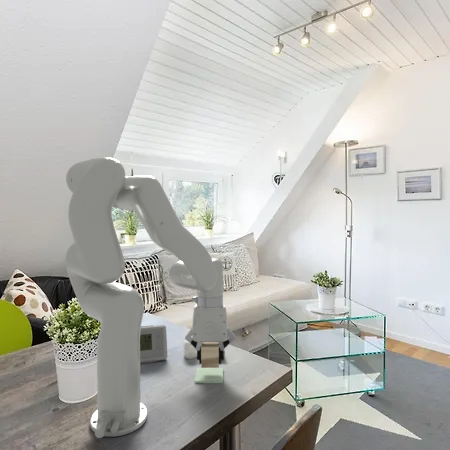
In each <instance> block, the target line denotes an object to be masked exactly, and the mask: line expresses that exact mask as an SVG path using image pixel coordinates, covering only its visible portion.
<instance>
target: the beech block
mask: <svg viewBox="0 0 450 450" xmlns="http://www.w3.org/2000/svg"><path fill="white" fill-rule="evenodd" d="M200 366H201V367H200V368H220V364H219V343H218V342H202V344H201V364H200Z"/></svg>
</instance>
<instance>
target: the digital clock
mask: <svg viewBox="0 0 450 450" xmlns="http://www.w3.org/2000/svg"><path fill="white" fill-rule="evenodd" d="M167 336H168V335H167V326H166V325H164V324H158V325H152V324H151V325H143V326H142V325H141V331H140V365H142V364H148V363H156V362H160V361H165V360H167V359H168V340H167V339H168V338H167Z"/></svg>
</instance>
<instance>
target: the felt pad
mask: <svg viewBox="0 0 450 450" xmlns="http://www.w3.org/2000/svg"><path fill="white" fill-rule="evenodd" d="M194 384H224V368H223V367H219V368H201V367H197V368H196V371H195V378H194Z"/></svg>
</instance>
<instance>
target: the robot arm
mask: <svg viewBox="0 0 450 450" xmlns="http://www.w3.org/2000/svg"><path fill="white" fill-rule="evenodd" d="M65 180H66V185H67V187H68V189H69V191H71V193H72V195H71V198H70V200H69V205H68V210H67V211H68V223H69V227H70V231H71V233H72V238H73V240H74V242H73V243H71V245H70V246H69V248H67V251H66V254H65V259H64V263H65V264H64V265H65V269H66V272H67V276H68V278H69V281H70V284H71V286H72V289H73V292H74V294H75V297H76V299H77V302H78V304H79V306H80V308H81V310H82V312H83V313H85V315H87V316H89V317H90V318H92V319H93V320H96V321H98V322H99V323H100V330H99V332H98V336H97V342H96V375H97V376H96V377H97V378H96V380H97V381H96V382H97V383H96V387H97V389H96V390H97V392H96V393H97V395H96V396H97V400H96V401H97V409H96V410H95V411H94V412H93V413H92V415H91V416H90V421H89V423H90V425H89V427H90V429H91V430H92V431H93V432H94V435H95V437H96V438H97V439H101V438H103V437H111V438H112V437H114V438H115V437H120V436H125V435H128V434H130V433H133V432H134V431H137V430H138V429H139V428H141V427H142V426H143V425H144V424H145V423H146V421H147V420H148V419H147V418H148V409H147V407H146V406H145V405H144V404H143V403H142V402H141V364H140V331H141V326H142V322H143V317H144V313H145V312H144V311H145V305H144V300H143V298H142V295H141V294H140V293H139V291H137V290H136V289H135V288H134V287H132V286H129V285H126V284H124V283H120V282H116V281H119V279H121V277H122V276H123V274H124V273H125V270H126V269H125V268H126V261H125V257H124V254H123V250H122V248H121V247H122V246H121V245H120V242H119V239H118V238H119V237H118V234H117V232H116V229H115V225H114V220H113V213H112V211H113V208H115V209H119V210H125V211H134V212H135V214H136V215H137V217H138V219H139V221H140V223H141V224H142V226H143V228H144V229H145V231H146V233H147V234H148V236H149V239H150V240H151V241H152V242H153V243H154V244H156V246H158V247H159V248H161V249H163V250H164V251H166V252H168V253H170V254H171V255H173V256H174V257H176V258H177V259H178V260H179V261H176V262H174V263H173V264H172V265H171V266H170V267H169V271H168V278H169V280H170V282H171V283H173V284H174V285H175V286H177V287H180V288H184V289H187V290H192V291H196V295H195V296H192V297H191V302H192V303H195V305H194V307H193V311H192V327H191V328H190V330H189V331H188V332H187V334H186V335H185V338H184V339H185V340H187V341H188V342H189V343H191V344H192V345H193V346H194V347H195V348H196V350H197V357H196V360H197V361H199V362H198V363H199V365H201V345H202V342H218V343H219V365H221V364H222V361H223V350H225V349H226V348H227V347H228V346H229V345H230V344H231V343H232V342H233V341H235V340H236V335H235V334H234V333H233V331H232V330H231V329H230V328H229V327H228V314H227V313H228V312H227V308H226V305H225V303H224V284H223V283H224V280H223V279H224V271H223V270H224V267H223V261H222V260H221V259H220V258H217V257H211V255H210V253H209V251H208V249H206V247H205V246H204V244H202V242H201V241H200V240H198V239H197V237H195V236H194V235H193V233H191V232H190V231H189V230H188V229H187V228H186V227H185V226H184V225H183V224H182V223H181V221H180V219H179V217H178V215H177V213H176V211H175V209H174V207H173V206H172V204H171V202H170V200H169V197H168V196H167V194H166V192H165V190H164V188H163V187H162V184H161V183H160V182H159V180H158V179H157V178H156V177H154V176H152V175H145V174H144V175H143V174H141V175H133V176H126V171H125V168H124V166H123V164H122V163H121V162H120V161H119V160H118V159H115V158H113V157H107V156H103V157H102V156H101V157H95V158H91V159H87V160H82V161H79V162H76V163H75V164H73V165H72V166H70V168H69V169H68V170H67V173H66V177H65Z"/></svg>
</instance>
